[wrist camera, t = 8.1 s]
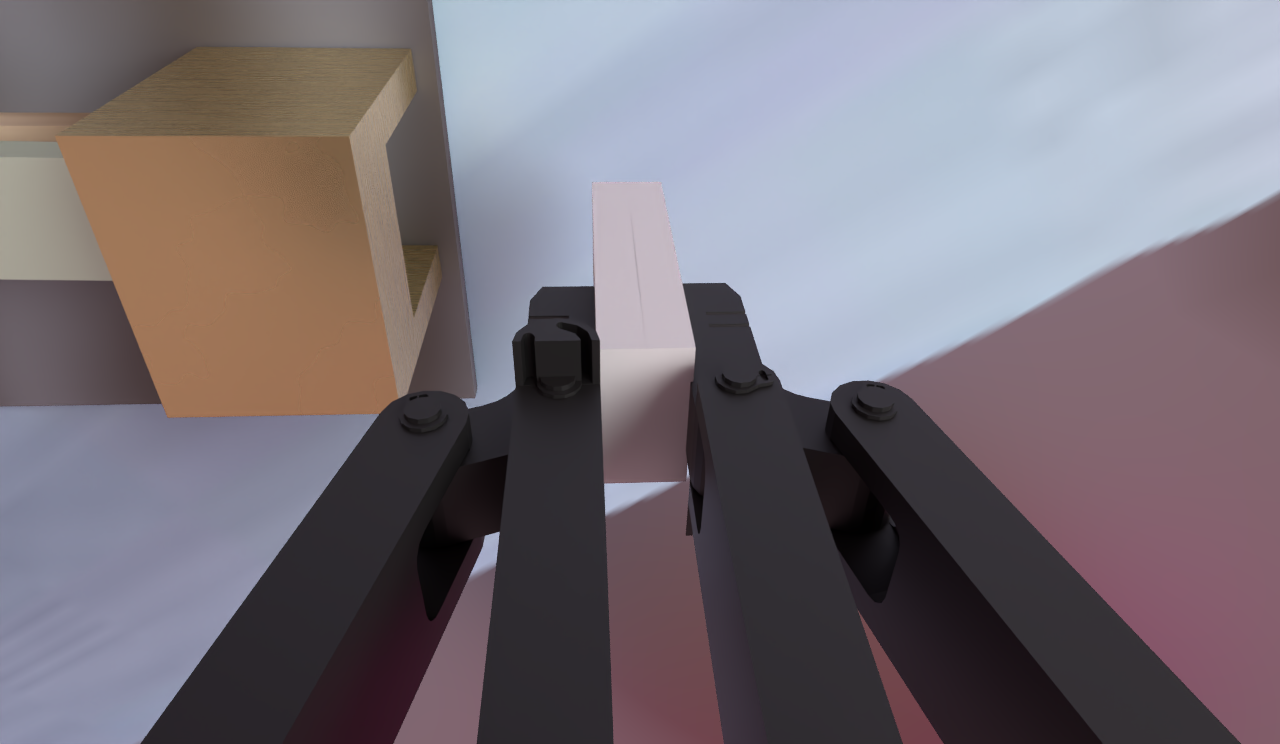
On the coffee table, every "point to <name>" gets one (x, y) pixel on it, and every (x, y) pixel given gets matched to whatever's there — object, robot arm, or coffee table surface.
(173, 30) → the tongs base
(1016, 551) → the robot arm
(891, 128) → the coffee table surface
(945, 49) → the coffee table surface
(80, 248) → the bar
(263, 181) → the collar
